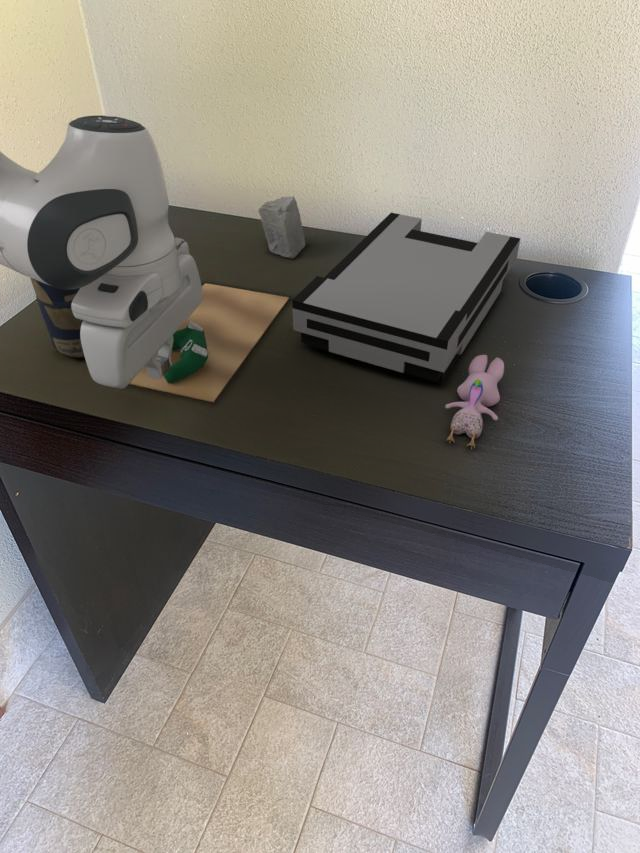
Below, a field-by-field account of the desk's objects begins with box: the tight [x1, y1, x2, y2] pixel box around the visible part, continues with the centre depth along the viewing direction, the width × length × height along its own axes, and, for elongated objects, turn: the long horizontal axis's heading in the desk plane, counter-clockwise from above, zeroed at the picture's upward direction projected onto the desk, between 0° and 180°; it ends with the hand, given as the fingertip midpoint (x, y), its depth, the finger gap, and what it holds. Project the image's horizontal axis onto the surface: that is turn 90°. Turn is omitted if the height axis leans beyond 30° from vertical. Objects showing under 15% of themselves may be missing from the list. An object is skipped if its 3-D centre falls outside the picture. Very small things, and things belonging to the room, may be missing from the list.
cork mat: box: [128, 282, 290, 403], centre depth 95 cm, size 26×14×1 cm, turn 161°
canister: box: [29, 277, 85, 358], centre depth 88 cm, size 10×10×18 cm
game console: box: [291, 212, 521, 385], centre depth 96 cm, size 21×32×8 cm, turn 152°
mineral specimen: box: [258, 195, 306, 260], centre depth 112 cm, size 7×9×8 cm
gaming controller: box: [164, 321, 208, 383], centre depth 89 cm, size 9×4×6 cm
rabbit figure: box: [444, 354, 505, 450], centre depth 81 cm, size 6×6×15 cm
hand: (160, 372), depth 84 cm, fingers closed
